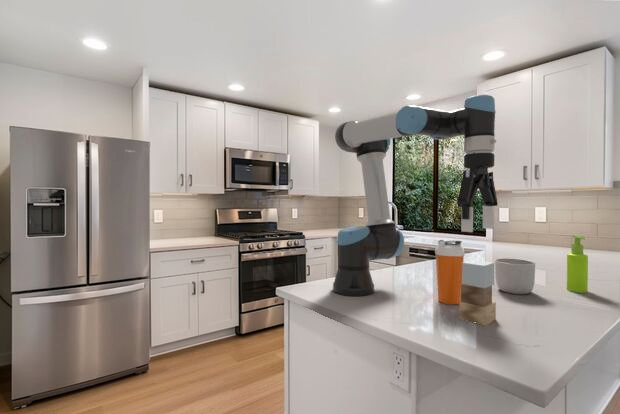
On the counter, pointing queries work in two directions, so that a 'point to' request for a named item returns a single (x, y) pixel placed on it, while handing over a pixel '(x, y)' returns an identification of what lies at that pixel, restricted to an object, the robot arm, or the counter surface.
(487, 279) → the grey-blue cube
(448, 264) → the shaker bottle
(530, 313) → the counter surface
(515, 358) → the counter surface
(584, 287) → the soap dispenser
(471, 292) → the walnut block
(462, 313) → the oak block
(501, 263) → the planter
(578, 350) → the counter surface
